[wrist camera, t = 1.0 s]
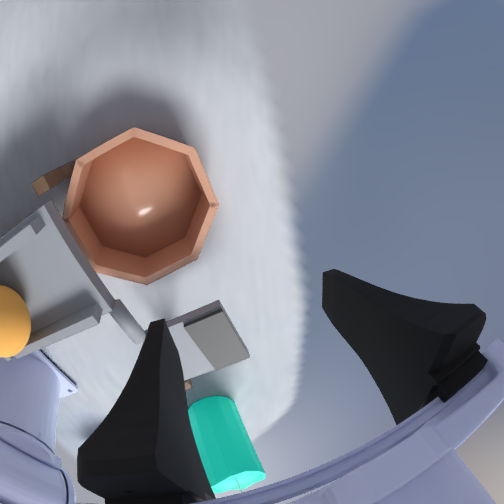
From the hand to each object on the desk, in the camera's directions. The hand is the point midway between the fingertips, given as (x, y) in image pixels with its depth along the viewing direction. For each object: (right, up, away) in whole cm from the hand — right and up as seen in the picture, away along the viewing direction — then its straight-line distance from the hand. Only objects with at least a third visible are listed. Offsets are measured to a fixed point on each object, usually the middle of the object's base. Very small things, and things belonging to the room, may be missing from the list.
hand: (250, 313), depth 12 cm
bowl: (-8, +6, +6) cm, 12 cm away
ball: (-14, -1, -2) cm, 14 cm away
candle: (-5, -16, +18) cm, 25 cm away
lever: (-9, -1, +3) cm, 10 cm away
